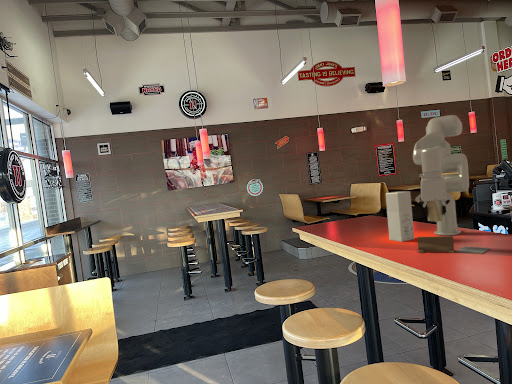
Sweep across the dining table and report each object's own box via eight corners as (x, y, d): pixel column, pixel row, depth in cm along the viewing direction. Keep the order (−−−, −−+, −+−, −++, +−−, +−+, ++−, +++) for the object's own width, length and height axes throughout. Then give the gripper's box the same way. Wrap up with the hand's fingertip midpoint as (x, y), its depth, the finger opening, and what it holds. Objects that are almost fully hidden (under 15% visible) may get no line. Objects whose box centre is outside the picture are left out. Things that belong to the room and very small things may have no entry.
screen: (418, 250, 170) (417, 236, 169) (453, 250, 164) (452, 235, 164) (418, 252, 165) (417, 238, 165) (454, 252, 159) (453, 237, 159)
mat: (464, 247, 167) (464, 246, 167) (489, 248, 160) (489, 248, 160) (456, 251, 160) (456, 251, 160) (482, 253, 153) (482, 252, 153)
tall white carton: (401, 237, 204) (397, 191, 203) (414, 239, 196) (410, 191, 195) (389, 240, 201) (385, 193, 200) (401, 241, 193) (397, 193, 192)
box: (427, 220, 173) (425, 197, 172) (434, 219, 174) (432, 195, 174) (437, 221, 168) (435, 197, 167) (444, 220, 169) (442, 196, 169)
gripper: (410, 178, 170) (414, 217, 171) (454, 174, 163) (457, 215, 164) (411, 177, 177) (414, 214, 178) (452, 173, 169) (456, 212, 171)
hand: (435, 214), depth 171 cm, fingers closed on box, 6 cm apart
